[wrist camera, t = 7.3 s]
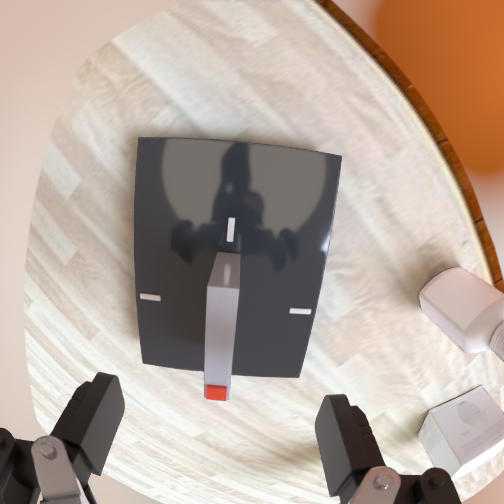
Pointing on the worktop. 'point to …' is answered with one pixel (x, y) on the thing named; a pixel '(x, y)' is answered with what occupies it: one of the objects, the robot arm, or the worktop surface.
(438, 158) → the worktop surface
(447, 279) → the eye dropper bottle
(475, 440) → the cosmetics box
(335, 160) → the plate
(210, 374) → the tap lever
